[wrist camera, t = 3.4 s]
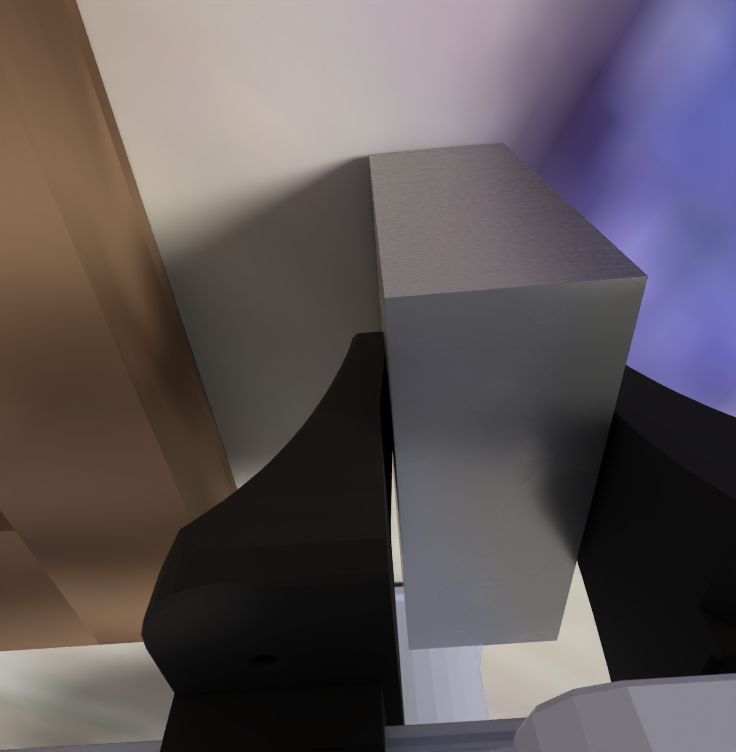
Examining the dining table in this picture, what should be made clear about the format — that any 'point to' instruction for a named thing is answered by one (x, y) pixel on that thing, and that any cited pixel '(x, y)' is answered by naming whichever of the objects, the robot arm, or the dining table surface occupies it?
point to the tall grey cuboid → (494, 385)
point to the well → (85, 357)
